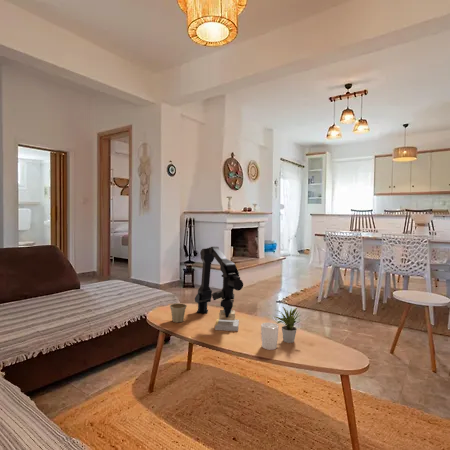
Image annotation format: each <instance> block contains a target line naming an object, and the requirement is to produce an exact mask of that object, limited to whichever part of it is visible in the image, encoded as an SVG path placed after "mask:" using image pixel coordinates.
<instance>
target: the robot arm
mask: <svg viewBox="0 0 450 450" xmlns="http://www.w3.org/2000/svg"><path fill="white" fill-rule="evenodd" d="M199 255H200V259H201V262H202V268H201V269H202V272H201V280H200V281H201V284H200V287H199V288H198V290H197V294H196V295H195V297H194V302H195V303H197V310H196V313H197V314H208V313H209V309H208V303H211V301H212V300H213V301H216V300H219V299H221V300H220V307H222V308H223V310H225V315H226V317H228V316H229V314H230V311H231V309H233V307H234V300H235V294H234V291H239V292H240V291H241V290H242V289H243V287H244V281H243V280H242V279H241V276H240V272H239V271H238V268H237V267H238V266H237V265H236V264H235V262H233V261H232V260H230V259H228V258H227V257H226V256H225V254H224V253H223V252H222V251H221V250H220V247H219V246H210V247H207V248H202V249H201V250H200V254H199ZM214 260H216V262H217V263H218V264H219V266H220V267H219V269H220V271H221V272H222V274H221V277H222V288H221V290H217V291H214V292H213V290H212V289H211V288H210V281H211V268H212V263H213V262H214Z"/></svg>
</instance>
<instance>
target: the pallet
mask: <svg viewBox="0 0 450 450" xmlns="http://www.w3.org/2000/svg"><path fill="white" fill-rule="evenodd" d="M223 312H224V309H219V313H218V314H219V316H218V317H219V320H235V319H236V310H234V309H233V310H231V313H230V314H229V316H228V317H226V315H225V313H223Z"/></svg>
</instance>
